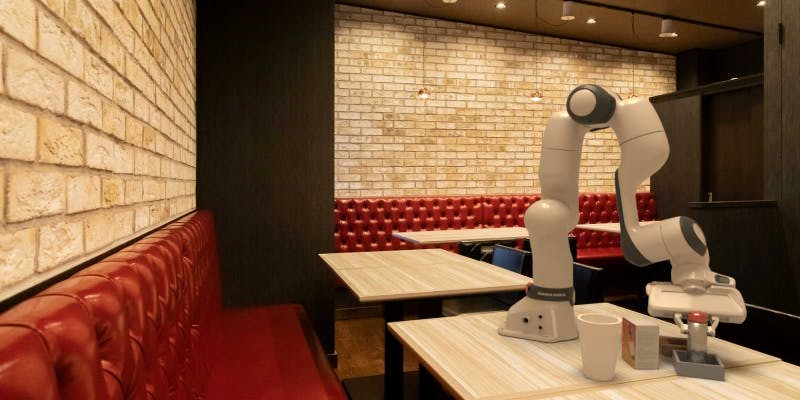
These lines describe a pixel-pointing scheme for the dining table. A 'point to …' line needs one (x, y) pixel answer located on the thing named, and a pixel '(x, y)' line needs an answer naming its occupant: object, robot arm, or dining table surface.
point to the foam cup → (599, 344)
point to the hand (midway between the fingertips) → (697, 334)
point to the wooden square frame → (671, 344)
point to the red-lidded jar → (697, 337)
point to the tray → (698, 366)
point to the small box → (640, 342)
